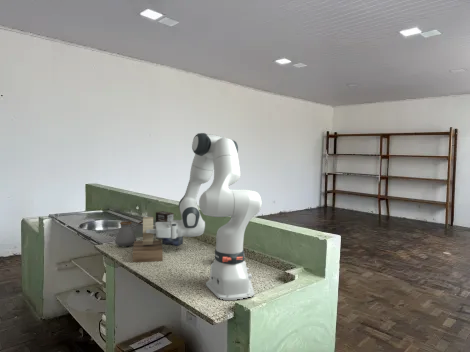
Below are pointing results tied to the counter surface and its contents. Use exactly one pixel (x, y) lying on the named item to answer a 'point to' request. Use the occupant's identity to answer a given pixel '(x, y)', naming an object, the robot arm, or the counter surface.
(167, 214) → the coffee box
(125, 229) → the coffee pot
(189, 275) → the counter surface
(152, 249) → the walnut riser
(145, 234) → the birch block
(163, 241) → the small box
